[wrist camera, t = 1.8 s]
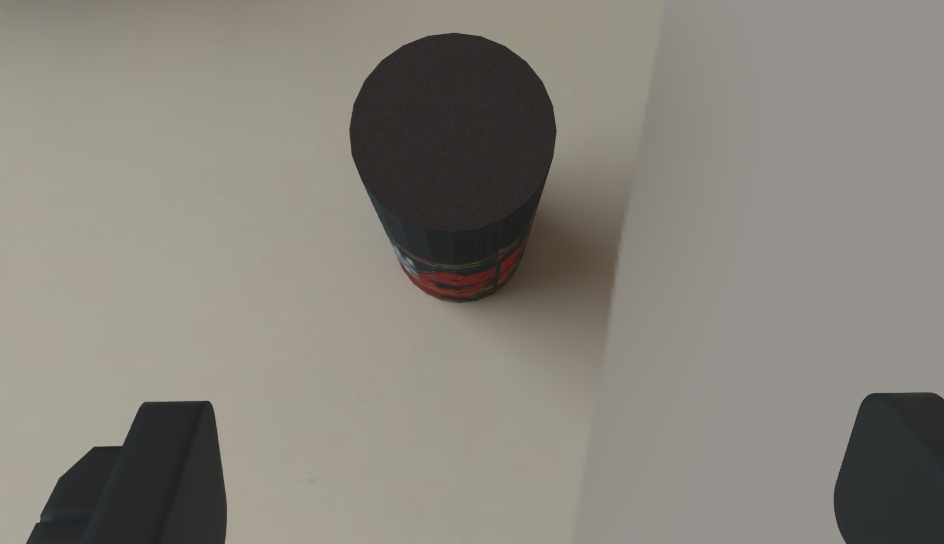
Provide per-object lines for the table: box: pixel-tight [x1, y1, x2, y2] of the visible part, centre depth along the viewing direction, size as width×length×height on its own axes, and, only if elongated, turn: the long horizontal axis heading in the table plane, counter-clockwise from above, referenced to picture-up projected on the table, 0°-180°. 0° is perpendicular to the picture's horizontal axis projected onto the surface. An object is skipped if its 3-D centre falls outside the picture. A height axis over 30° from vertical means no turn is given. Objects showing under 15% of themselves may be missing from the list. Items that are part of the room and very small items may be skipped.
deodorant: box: [349, 33, 556, 303], centre depth 32 cm, size 6×6×15 cm
